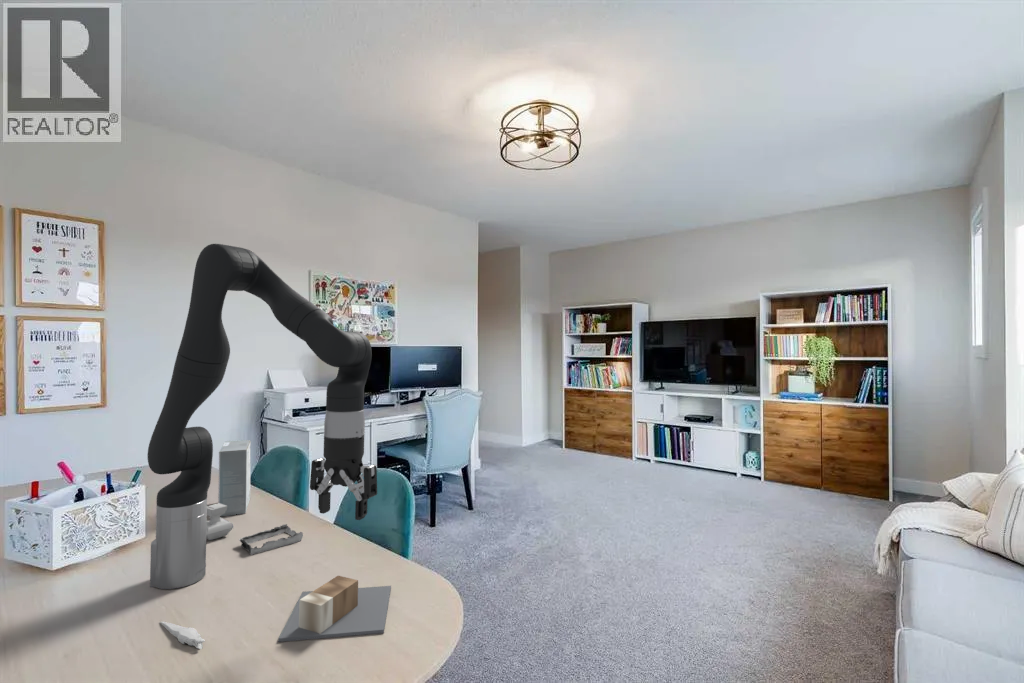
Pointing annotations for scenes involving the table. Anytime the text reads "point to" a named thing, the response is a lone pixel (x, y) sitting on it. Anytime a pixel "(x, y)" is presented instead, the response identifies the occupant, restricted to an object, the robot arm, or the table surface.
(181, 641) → the white tapered spike part
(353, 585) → the cream and brown block
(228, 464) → the hard drive box
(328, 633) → the charcoal mat
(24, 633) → the table surface
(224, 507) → the stamp
